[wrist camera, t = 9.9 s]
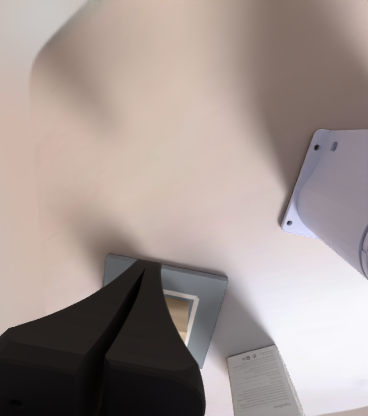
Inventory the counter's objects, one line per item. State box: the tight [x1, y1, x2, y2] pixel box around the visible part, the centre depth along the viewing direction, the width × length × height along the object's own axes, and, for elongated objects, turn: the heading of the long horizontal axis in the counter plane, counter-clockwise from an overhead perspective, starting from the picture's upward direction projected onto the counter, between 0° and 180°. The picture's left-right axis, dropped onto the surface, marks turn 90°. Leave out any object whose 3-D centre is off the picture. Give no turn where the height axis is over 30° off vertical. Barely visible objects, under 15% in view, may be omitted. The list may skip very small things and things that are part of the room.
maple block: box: [165, 297, 189, 343], centre depth 23 cm, size 6×6×4 cm
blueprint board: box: [103, 254, 228, 369], centre depth 25 cm, size 13×13×1 cm
